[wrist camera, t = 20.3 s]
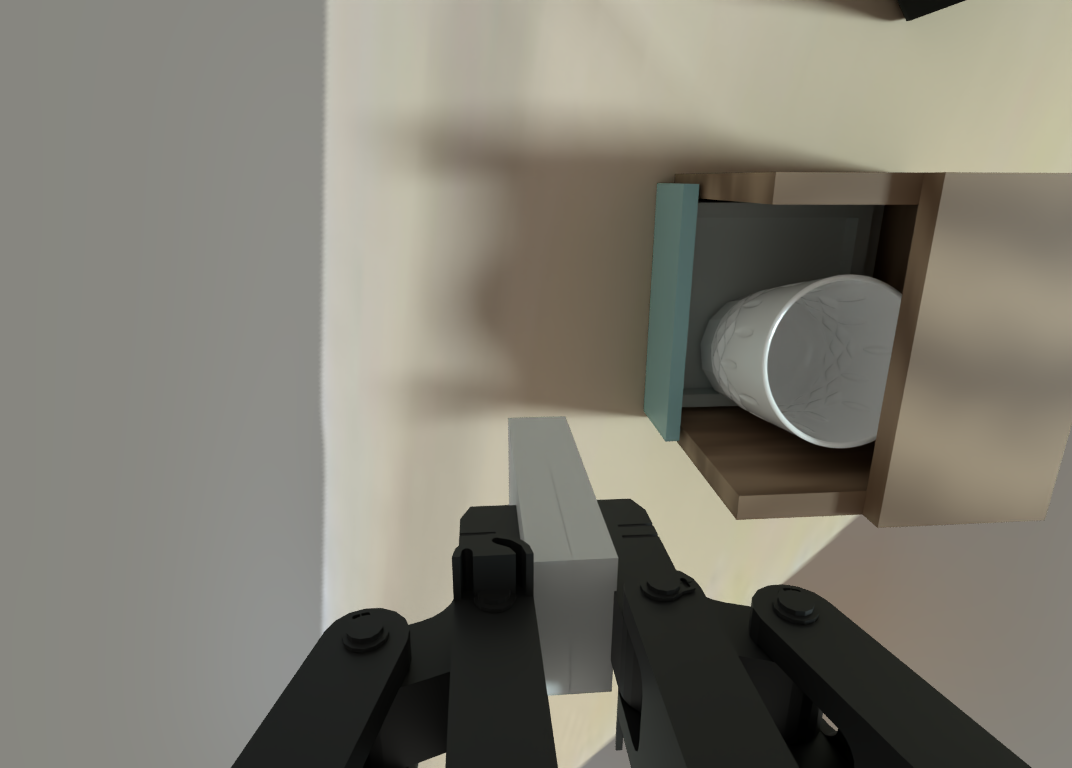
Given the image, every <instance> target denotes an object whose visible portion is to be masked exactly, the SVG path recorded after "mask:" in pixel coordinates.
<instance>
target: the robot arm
mask: <svg viewBox="0 0 1072 768" xmlns="http://www.w3.org/2000/svg"><path fill="white" fill-rule="evenodd" d="M508 441H509V505H502V506H477V507H470V508H469V509H468V510H467V512H466V513H465V514H464V515H463V517H462V518H461V519H460V536H459V546H458V547H457V548H456V549H455V551H454V553H453V556H452V570H453V594H454V600H453V601H452V603H451V604H450V605H449V606H448V607H447V608H446V609H445V610H444V611H442V612H441V613H439V614H437V615H436V616H434V617H432V618H429V619H426V620H424V621H421V622H417V623H414V624H410V625H408V623H407V621H406V619H405V618H404V617H402V616H401V615H400V614H398V613H397V612H395V611H391V610H387V609H383V608H371V609H363V610H359V611H355V612H352V613H349V614H347V615H345V616H343V617H341V618H340V619H338V620H336V621H335V622H334V623H333V624H332V625H331V626H330V627H329V628H328V629H327V630H326V631H325V632H324V633H323V635H322V636H321V638H320V639H319V640H318V642H317V644H316V645H315V646H314V648H313V649H312V651H311V652H310V654H309V655H308V656H307V658H306V659H305V661H304V662H303V664H302V665H301V667H300V668H299V670H298V671H297V673H296V674H295V675H294V677H293V678H292V680H291V681H290V683H289V684H288V686H287V687H286V688H285V690H284V691H283V693H282V694H281V696H280V697H279V699H278V700H277V702H276V703H275V704H274V706H273V707H272V709H271V710H270V712H269V713H268V715H267V716H266V718H265V719H264V720H263V722H262V723H261V725H260V726H259V728H258V729H257V731H256V732H255V734H254V735H253V736H252V738H251V739H250V741H249V742H248V744H247V745H246V747H245V748H244V749H243V751H242V753H241V754H240V756H239V757H238V758H237V760H236V761H235V763H234V764H233V765H232V767H231V768H418V763H419V762H422V761H424V760H427V759H430V758H432V757H435V756H438V755H440V754H443V753H446V768H558V765H557V758H556V751H555V744H554V737H553V730H552V723H551V716H550V709H549V702H548V696H549V695H564V694H579V693H594V692H610V691H612V674H613V670H614V674H615V677H616V681H617V685H618V704H617V722H616V750H622V743H623V738H624V741H625V745H626V749H627V753H628V757H629V761H630V765H631V768H1031V767H1030V766H1029V765H1027V764H1026V763H1025V762H1024V761H1023V760H1022V759H1020V758H1019V757H1018V756H1017V755H1015V754H1014V753H1013V752H1012V751H1011V750H1009V749H1008V748H1007V747H1006V746H1004V745H1003V744H1002V743H1001V742H1000V741H998V740H997V739H996V738H995V737H993V736H992V735H991V734H990V733H988V732H987V731H986V730H985V729H984V728H982V727H981V726H980V725H979V724H978V723H976V722H975V721H974V720H973V719H971V718H970V717H969V716H968V715H966V714H965V713H964V712H963V711H962V710H960V709H959V708H958V707H957V706H955V705H954V704H953V703H952V702H951V701H949V700H948V699H947V698H946V697H944V696H943V695H942V694H941V693H940V692H938V691H937V690H936V689H935V688H933V687H932V686H931V685H930V684H929V683H927V682H926V681H925V680H924V679H922V678H921V677H920V676H919V675H918V674H916V673H915V672H914V671H913V670H911V669H910V668H909V667H908V666H907V665H905V664H904V663H903V662H902V661H900V660H899V659H898V658H897V657H895V656H894V655H893V654H892V653H891V652H889V651H888V650H887V649H886V648H884V647H883V646H882V645H881V644H880V643H878V642H877V641H876V640H875V639H873V638H872V637H871V636H870V635H869V634H867V633H866V632H865V631H864V630H862V629H861V628H860V627H859V626H858V625H856V624H855V623H854V622H852V621H851V620H850V619H849V618H848V617H846V616H845V615H844V614H843V613H842V612H840V611H839V610H838V609H837V608H836V607H834V606H833V605H832V604H831V603H829V602H828V601H827V600H825V599H824V598H822V597H820V596H819V595H817V594H815V593H814V592H811V591H808V590H806V589H802V588H800V587H796V586H790V585H783V584H782V585H770V586H766V587H764V588H761V589H759V590H757V592H756V593H755V595H754V596H753V597H752V603H751V607H750V606H744V605H737V604H731V603H725V602H721V601H716V600H712V599H710V598H707V597H706V596H705V594H704V592H703V590H702V589H701V587H700V586H699V585H698V584H697V582H696V581H695V580H694V579H693V578H691V577H690V576H688V575H686V574H684V573H683V572H681V571H677V570H676V569H675V567H674V565H673V563H672V561H671V559H670V557H669V555H668V553H667V551H666V549H665V548H664V546H663V544H662V542H661V540H660V538H659V537H658V534H657V532H656V530H655V528H654V526H652V522H651V520H650V518H649V516H648V514H647V512H646V510H645V509H643V508H642V507H641V506H639V505H638V504H637V503H635V502H634V501H633V500H631V499H610V500H596V497H595V494H594V492H593V489H592V486H591V484H590V481H589V478H588V476H587V473H586V470H585V468H584V465H583V462H582V459H581V457H580V454H579V451H578V449H577V446H576V443H575V441H574V438H573V435H572V433H571V430H570V427H569V425H568V422H567V419H566V417H565V416H560V417H525V418H508ZM823 713H824V714H825V715H826V716H827V717H828V718H829V719H830V720H831V721H832V722H833V723H834V724H835V725H836V726H837V728H838V731H835V730H834V729H833V728H832V727H831V726H829V725H828V724H827V723H826V721H825V720H824V719H823V718H822V715H823Z"/></svg>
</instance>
